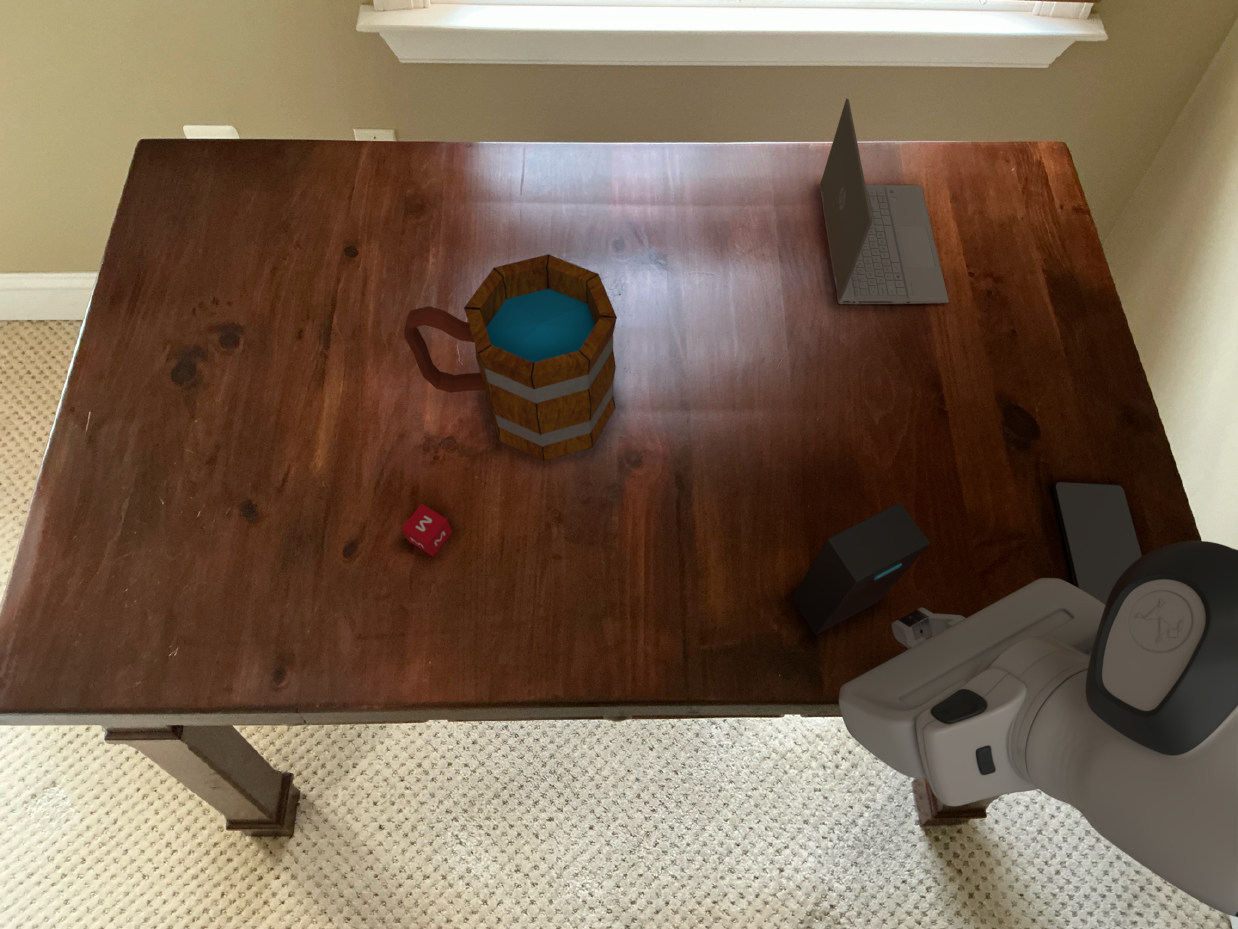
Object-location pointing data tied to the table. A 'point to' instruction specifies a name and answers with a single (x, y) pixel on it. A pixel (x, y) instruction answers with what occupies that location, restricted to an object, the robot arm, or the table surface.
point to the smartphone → (1096, 534)
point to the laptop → (876, 232)
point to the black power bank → (859, 567)
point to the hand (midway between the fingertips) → (907, 622)
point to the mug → (533, 353)
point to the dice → (427, 530)
